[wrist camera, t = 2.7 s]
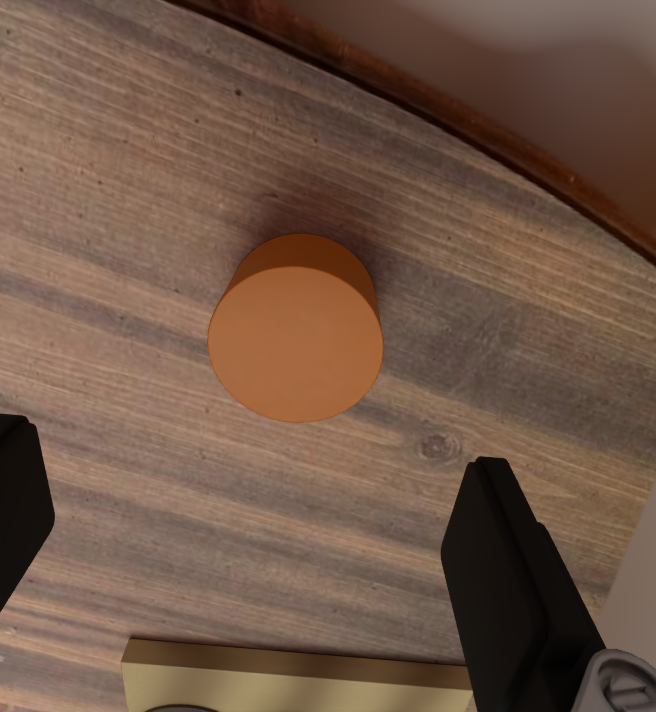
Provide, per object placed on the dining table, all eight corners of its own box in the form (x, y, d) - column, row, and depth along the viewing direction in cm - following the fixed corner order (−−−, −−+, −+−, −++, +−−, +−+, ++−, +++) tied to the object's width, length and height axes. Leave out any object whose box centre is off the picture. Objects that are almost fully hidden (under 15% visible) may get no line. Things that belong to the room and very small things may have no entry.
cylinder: (387, 242, 19) (398, 277, 15) (364, 375, 22) (369, 430, 18) (231, 224, 19) (206, 255, 15) (229, 361, 21) (207, 414, 18)
